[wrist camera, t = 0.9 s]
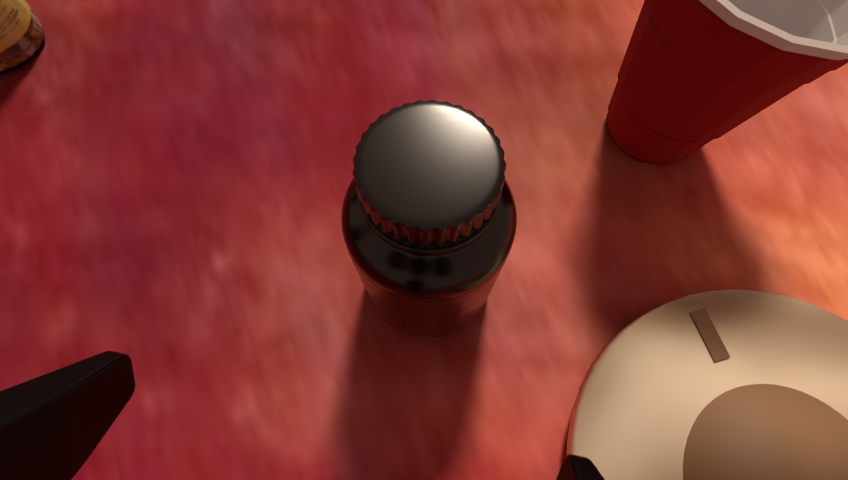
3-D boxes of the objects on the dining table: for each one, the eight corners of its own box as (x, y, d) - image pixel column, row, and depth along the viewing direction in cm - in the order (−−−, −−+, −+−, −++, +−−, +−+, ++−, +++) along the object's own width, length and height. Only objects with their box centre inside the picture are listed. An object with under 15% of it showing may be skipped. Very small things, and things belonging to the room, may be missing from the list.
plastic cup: (762, 198, 27) (1009, 40, 15) (586, 204, 26) (709, 48, 15) (710, 61, 31) (876, -142, 20) (558, 65, 30) (637, -138, 19)
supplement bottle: (465, 209, 26) (499, 54, 15) (506, 318, 24) (582, 229, 12) (353, 239, 25) (301, 99, 14) (383, 355, 23) (349, 296, 12)
